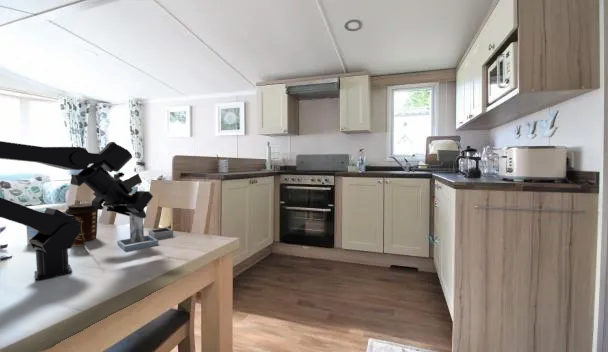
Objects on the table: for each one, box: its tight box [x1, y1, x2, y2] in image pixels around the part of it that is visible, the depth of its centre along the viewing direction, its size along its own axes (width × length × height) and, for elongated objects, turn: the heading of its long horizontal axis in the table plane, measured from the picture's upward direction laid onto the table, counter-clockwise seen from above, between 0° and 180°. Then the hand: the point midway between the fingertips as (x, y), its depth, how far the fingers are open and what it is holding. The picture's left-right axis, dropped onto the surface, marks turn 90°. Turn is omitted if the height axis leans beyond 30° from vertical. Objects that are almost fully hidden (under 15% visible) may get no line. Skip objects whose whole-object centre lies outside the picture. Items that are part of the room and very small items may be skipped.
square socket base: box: [148, 227, 181, 241], centre depth 98 cm, size 9×8×3 cm
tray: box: [116, 234, 159, 252], centre depth 87 cm, size 9×9×2 cm
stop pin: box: [129, 193, 145, 244], centre depth 86 cm, size 5×5×14 cm
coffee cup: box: [65, 202, 99, 247], centre depth 93 cm, size 9×8×13 cm
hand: (140, 216), depth 88 cm, fingers closed on stop pin, 4 cm apart
